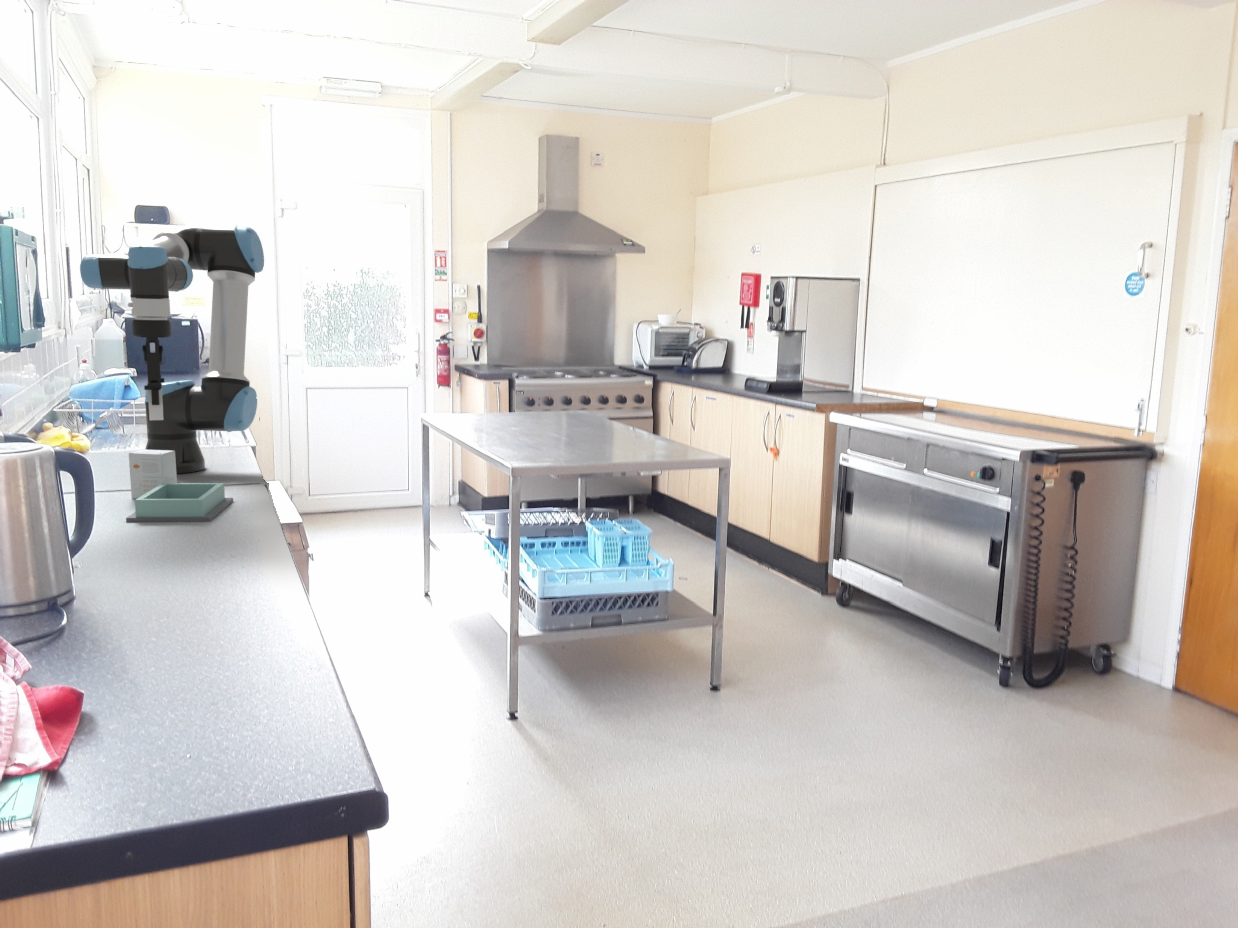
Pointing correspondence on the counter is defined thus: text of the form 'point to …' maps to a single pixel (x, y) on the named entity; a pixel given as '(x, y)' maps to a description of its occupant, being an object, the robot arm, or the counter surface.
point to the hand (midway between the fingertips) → (156, 416)
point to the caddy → (180, 503)
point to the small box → (151, 470)
